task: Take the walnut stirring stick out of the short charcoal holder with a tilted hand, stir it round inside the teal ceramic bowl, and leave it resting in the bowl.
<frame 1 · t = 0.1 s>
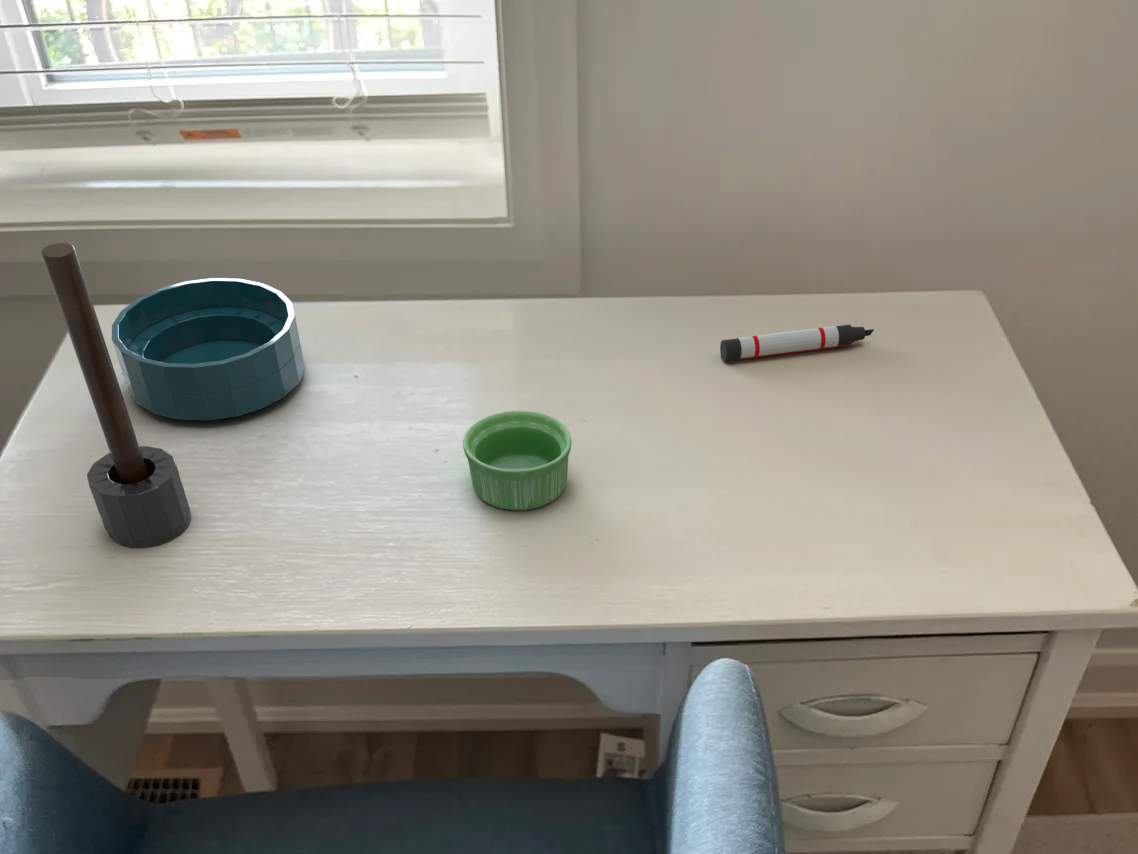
crock: (149, 522, 98), on the table
ramekin: (519, 486, 102), on the table
stick: (147, 516, 98), point 1 cm above the table, touching crock
bowl: (219, 380, 113), on the table
marker: (797, 352, 116), on the table
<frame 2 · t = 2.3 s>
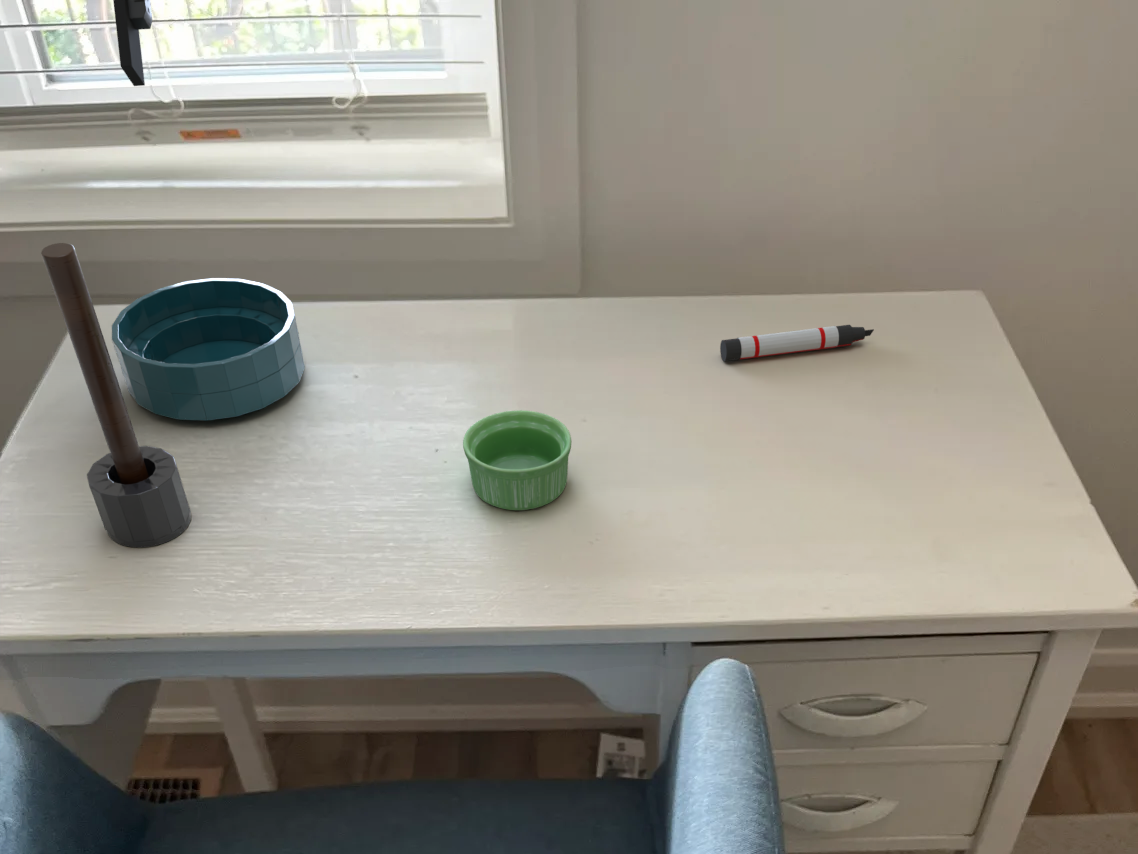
hand: (32, 83, 82), 30 cm above the table, tool tilted 45°, fingers open, 13 cm apart
nothing on the table moved.
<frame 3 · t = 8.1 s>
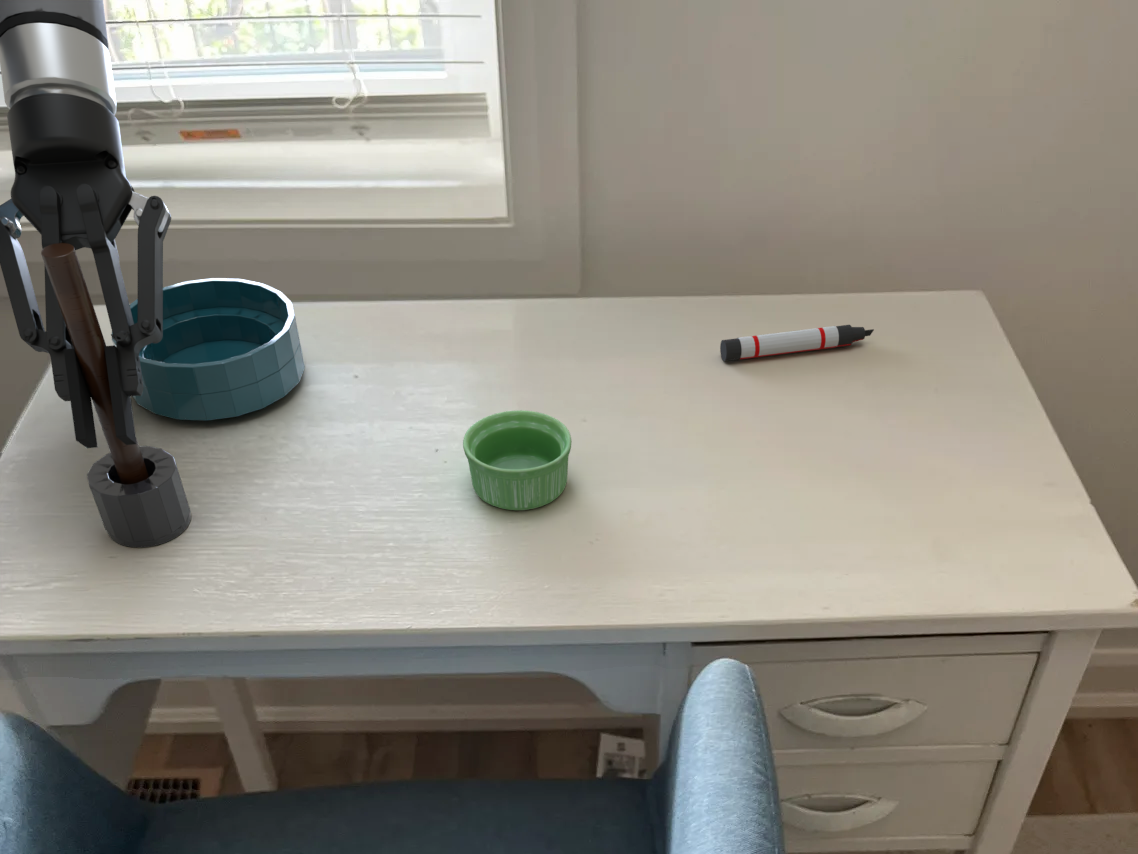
hand: (106, 441, 88), 10 cm above the table, tool tilted 45°, fingers closed on stick, 2 cm apart
stick: (147, 516, 98), point 1 cm above the table, touching crock, gripper
everything else where it was.
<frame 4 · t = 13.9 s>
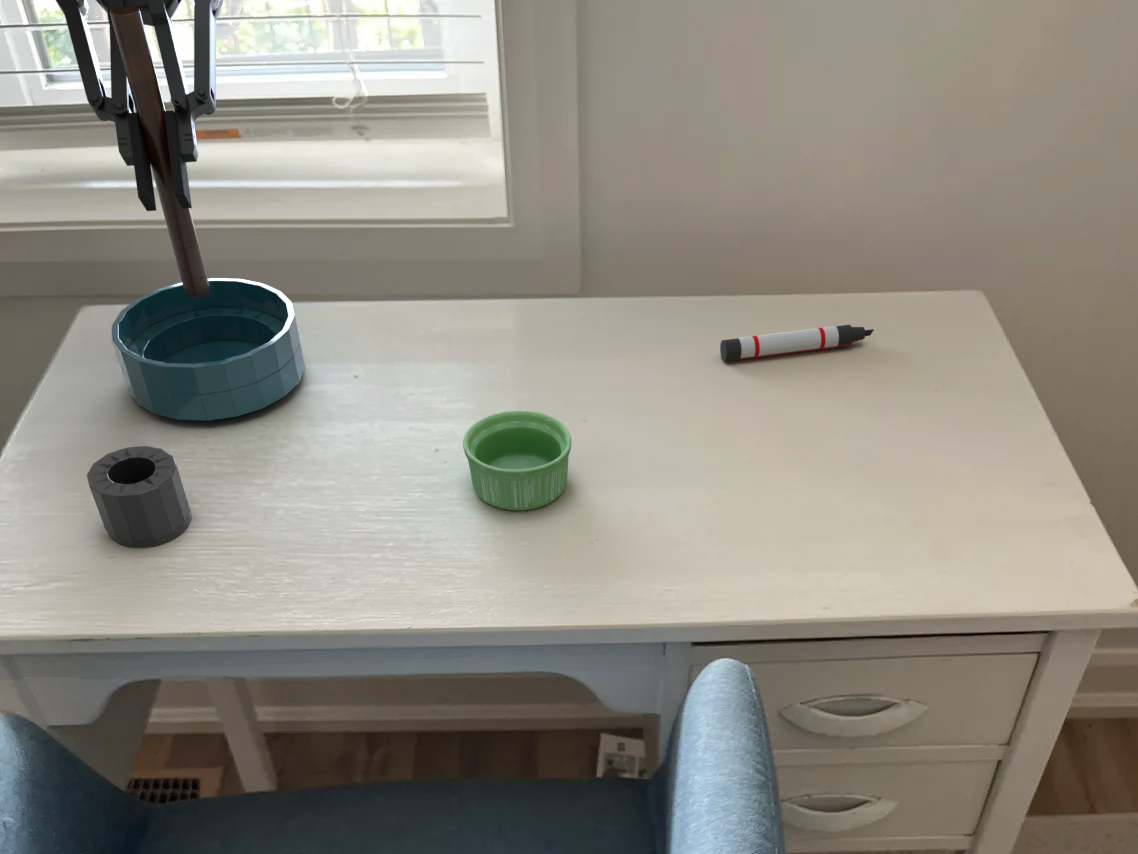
hand: (165, 202, 97), 18 cm above the table, tool tilted 45°, fingers closed on stick, 2 cm apart
stick: (197, 292, 106), point 9 cm above the table, touching gripper
everything else where it was.
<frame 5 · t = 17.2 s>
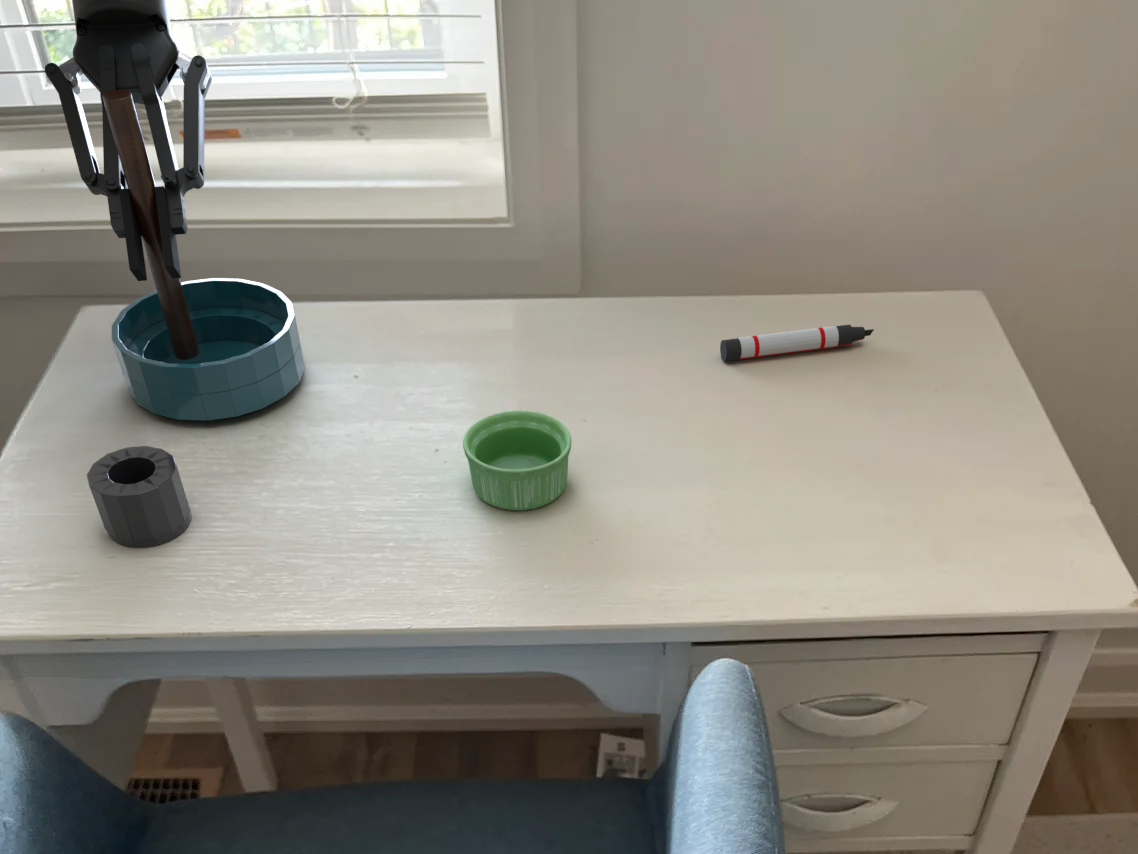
hand: (155, 273, 101), 12 cm above the table, tool tilted 45°, fingers closed on stick, 2 cm apart
stick: (187, 354, 110), point 3 cm above the table, touching gripper
everything else where it was.
when the fingers open (10 cm above the table, at t = 19.5 s): stick stays where it is, resting on bowl.
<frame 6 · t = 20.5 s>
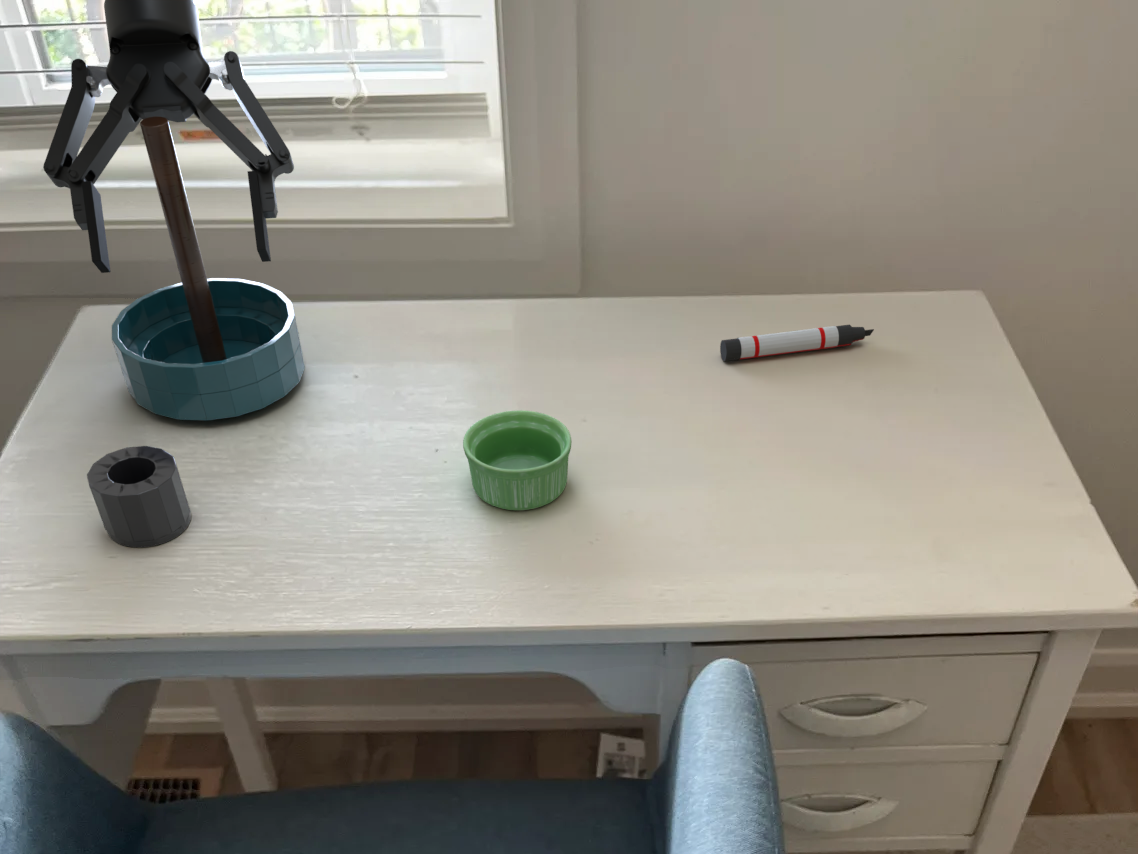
hand: (183, 261, 102), 12 cm above the table, tool tilted 45°, fingers open, 13 cm apart
stick: (217, 372, 112), point 1 cm above the table, touching bowl
everything else where it was.
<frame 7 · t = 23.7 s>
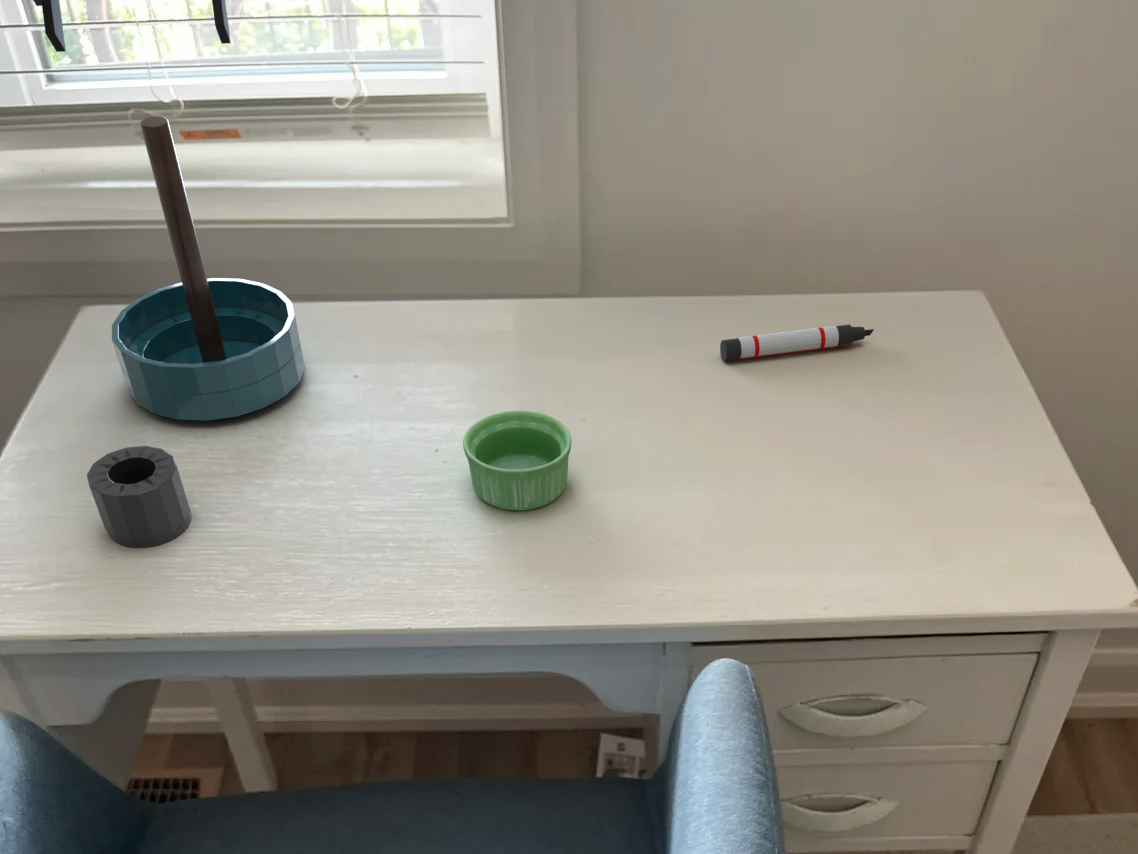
hand: (140, 39, 100), 26 cm above the table, tool tilted 45°, fingers open, 13 cm apart
nothing on the table moved.
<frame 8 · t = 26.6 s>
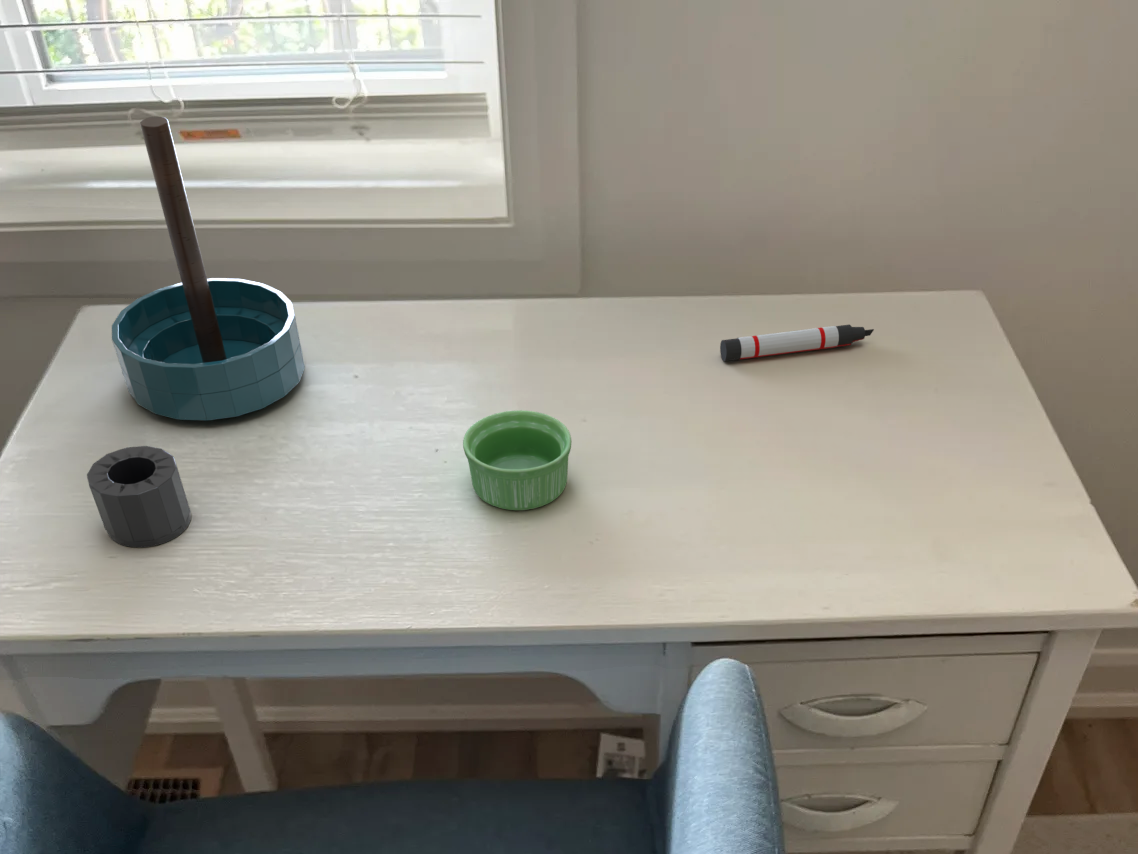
nothing on the table moved.
at the end: stick inside the target area in the bowl (0.1 cm from its centre), point 0.8 cm above the bowl's base; the gripper is holding nothing; stick moved 22.1 cm from its start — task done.
